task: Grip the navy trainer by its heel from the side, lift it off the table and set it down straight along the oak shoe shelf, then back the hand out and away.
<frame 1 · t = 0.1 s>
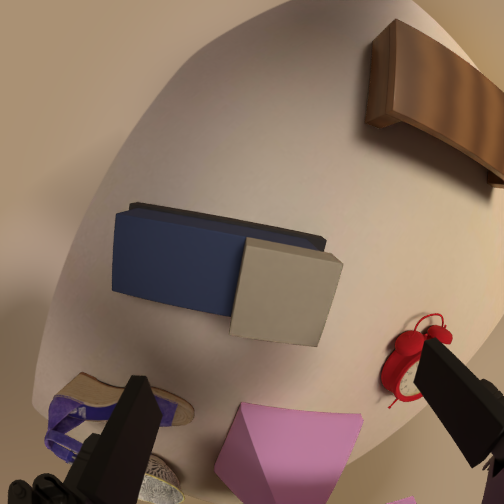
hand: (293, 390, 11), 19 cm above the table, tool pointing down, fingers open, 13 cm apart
trainer: (221, 253, 29), on the table
bowl: (150, 460, 38), on the table
sandal: (130, 393, 34), on the table
shoe shelf: (446, 116, 25), on the table
alarm clock: (412, 353, 33), on the table
pink table lamp: (283, 445, 37), on the table
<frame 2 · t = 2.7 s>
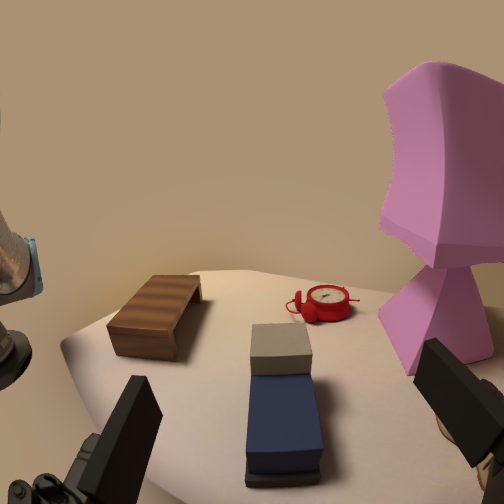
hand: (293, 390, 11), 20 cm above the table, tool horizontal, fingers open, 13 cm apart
trainer: (280, 422, 30), on the table
sandal: (467, 443, 18), on the table
shoe shelf: (164, 324, 54), on the table
alarm clock: (320, 312, 57), on the table
pink table lamp: (433, 337, 42), on the table
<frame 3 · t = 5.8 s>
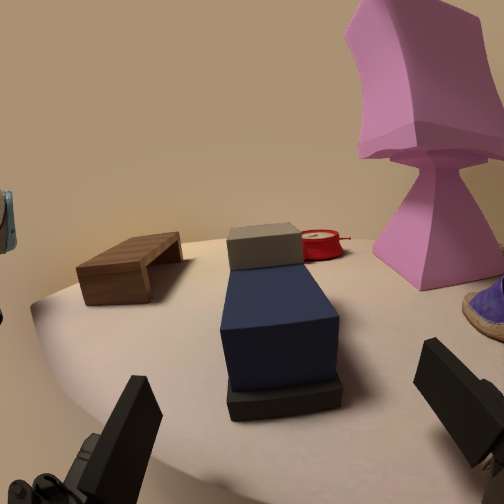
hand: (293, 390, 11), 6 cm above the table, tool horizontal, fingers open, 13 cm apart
trainer: (274, 341, 26), on the table
shoe shelf: (140, 279, 49), on the table
alarm clock: (309, 256, 54), on the table
pink table lamp: (438, 264, 40), on the table
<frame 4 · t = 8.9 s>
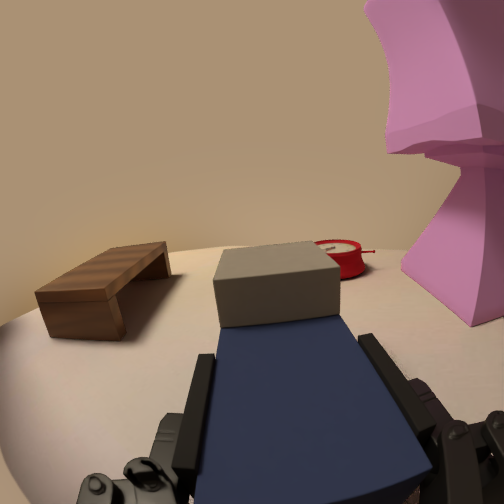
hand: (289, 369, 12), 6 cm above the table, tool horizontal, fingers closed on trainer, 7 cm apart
trainer: (289, 425, 15), on the table, touching gripper
shoe shelf: (118, 301, 39), on the table
alarm clock: (325, 273, 43), on the table
pink table lamp: (478, 284, 29), on the table
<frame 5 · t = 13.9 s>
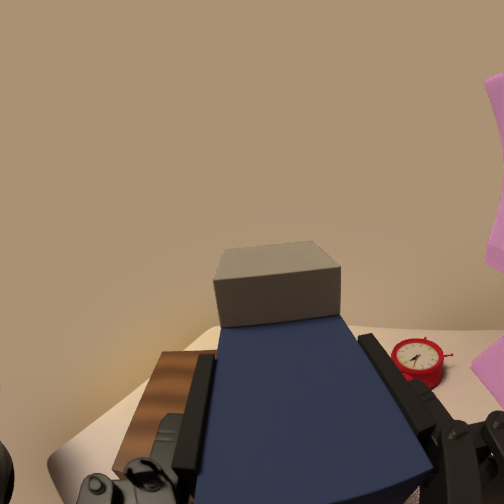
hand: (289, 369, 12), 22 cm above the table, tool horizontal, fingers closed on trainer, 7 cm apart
trainer: (289, 425, 15), point 16 cm above the table, touching gripper
shoe shelf: (195, 432, 31), on the table
alarm clock: (406, 377, 35), on the table
when the fingers open (12 cm above the table, at t = 19.0 s): trainer stays where it is, resting on shoe shelf.
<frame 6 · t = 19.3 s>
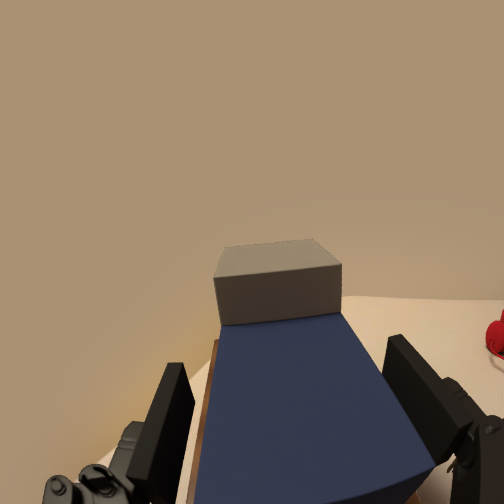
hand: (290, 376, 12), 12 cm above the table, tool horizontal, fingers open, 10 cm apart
trainer: (290, 424, 15), point 6 cm above the table, touching shoe shelf
shoe shelf: (289, 468, 16), on the table
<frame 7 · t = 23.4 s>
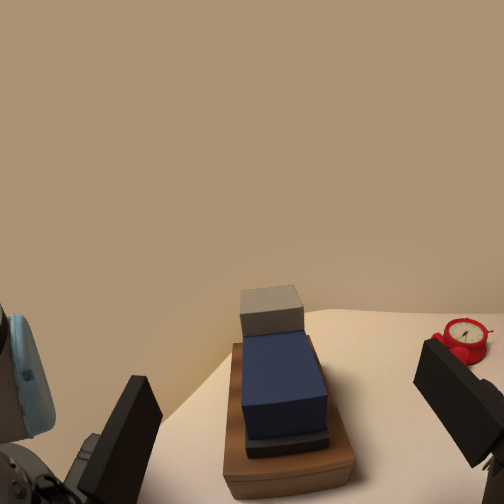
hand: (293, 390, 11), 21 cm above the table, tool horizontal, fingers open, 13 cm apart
trainer: (279, 390, 29), point 6 cm above the table, touching shoe shelf
shoe shelf: (281, 422, 31), on the table
alarm clock: (456, 353, 35), on the table
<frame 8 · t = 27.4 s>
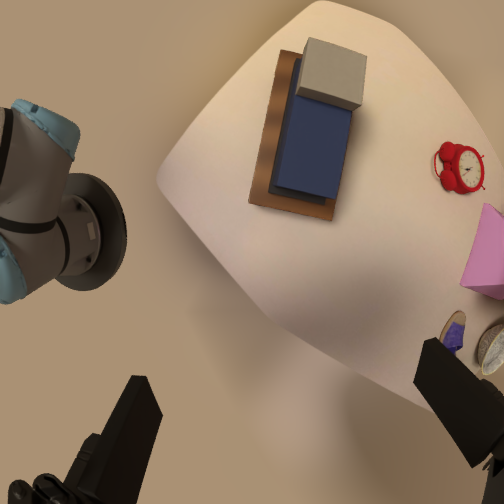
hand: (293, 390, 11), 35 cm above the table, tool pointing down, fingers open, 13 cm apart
trainer: (308, 129, 34), point 6 cm above the table, touching shoe shelf
bowl: (485, 338, 53), on the table
sandal: (442, 346, 52), on the table
shoe shelf: (299, 136, 41), on the table
alarm clock: (453, 168, 42), on the table
pink table lamp: (492, 254, 46), on the table
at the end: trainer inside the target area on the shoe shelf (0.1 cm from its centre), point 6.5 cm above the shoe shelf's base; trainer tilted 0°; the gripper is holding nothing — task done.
